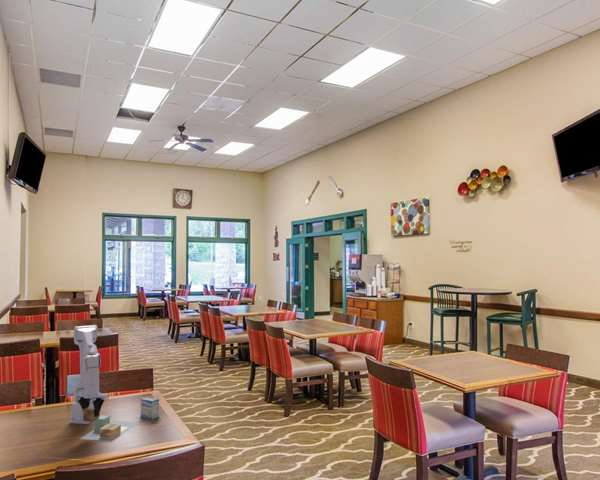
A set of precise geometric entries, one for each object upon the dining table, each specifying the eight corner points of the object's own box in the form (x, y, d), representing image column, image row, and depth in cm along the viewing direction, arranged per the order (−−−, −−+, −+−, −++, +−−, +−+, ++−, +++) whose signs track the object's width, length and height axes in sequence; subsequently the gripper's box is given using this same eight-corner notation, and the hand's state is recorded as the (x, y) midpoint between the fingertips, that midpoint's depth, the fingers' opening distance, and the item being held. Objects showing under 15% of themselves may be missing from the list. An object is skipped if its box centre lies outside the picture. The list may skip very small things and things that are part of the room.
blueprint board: (79, 439, 193) (79, 438, 193) (110, 421, 215) (110, 420, 215) (111, 442, 190) (111, 441, 190) (139, 423, 212) (139, 422, 212)
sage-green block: (94, 430, 203) (94, 418, 203) (100, 426, 207) (100, 415, 207) (103, 430, 202) (103, 419, 202) (109, 427, 206) (109, 415, 206)
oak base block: (99, 437, 195) (99, 428, 195) (108, 431, 201) (108, 423, 201) (112, 438, 194) (112, 429, 194) (120, 432, 199) (120, 424, 200)
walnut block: (83, 421, 195) (83, 409, 195) (90, 417, 199) (90, 405, 199) (92, 421, 194) (92, 409, 194) (99, 418, 198) (99, 406, 198)
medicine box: (140, 417, 220) (140, 399, 220) (147, 414, 223) (147, 396, 224) (152, 420, 216) (152, 401, 216) (159, 417, 220) (159, 398, 220)
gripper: (70, 385, 195) (70, 417, 194) (101, 386, 192) (100, 420, 191) (81, 380, 201) (81, 412, 201) (111, 382, 199) (111, 414, 198)
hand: (91, 415), depth 197 cm, fingers closed on walnut block, 4 cm apart
